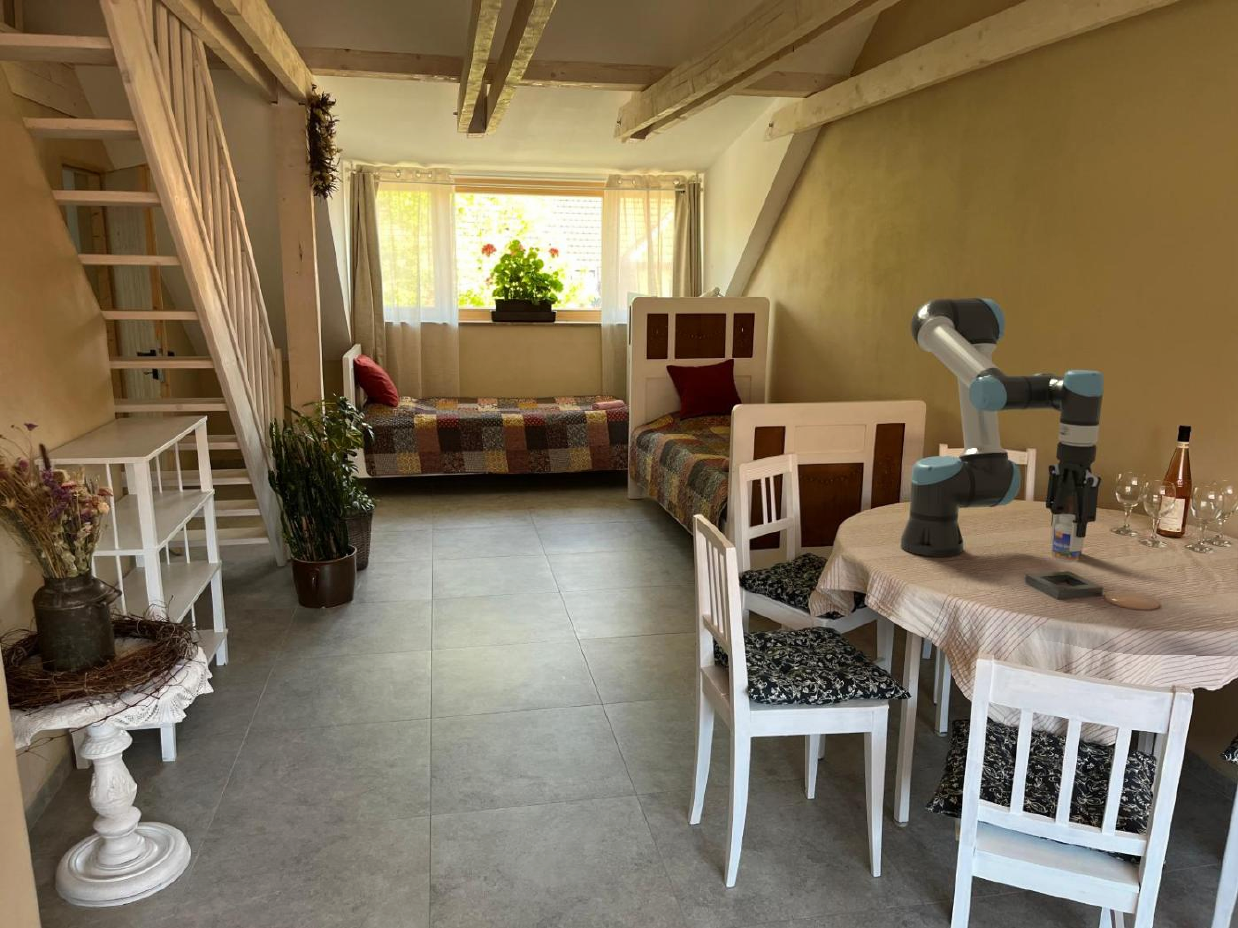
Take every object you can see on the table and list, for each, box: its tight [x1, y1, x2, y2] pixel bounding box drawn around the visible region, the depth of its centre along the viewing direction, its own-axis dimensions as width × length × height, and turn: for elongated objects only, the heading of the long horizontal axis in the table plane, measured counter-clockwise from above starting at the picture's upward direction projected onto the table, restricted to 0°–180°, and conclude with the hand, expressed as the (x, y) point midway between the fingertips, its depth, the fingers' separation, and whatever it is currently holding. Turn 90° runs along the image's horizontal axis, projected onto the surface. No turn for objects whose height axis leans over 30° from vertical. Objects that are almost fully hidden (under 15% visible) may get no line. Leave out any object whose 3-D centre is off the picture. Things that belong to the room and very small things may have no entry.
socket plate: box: [1024, 570, 1104, 600], centre depth 196 cm, size 11×11×2 cm
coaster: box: [1105, 590, 1160, 611], centre depth 188 cm, size 10×10×1 cm
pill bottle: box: [1051, 514, 1080, 563], centre depth 194 cm, size 5×5×10 cm
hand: (1066, 546), depth 195 cm, fingers closed on pill bottle, 5 cm apart
